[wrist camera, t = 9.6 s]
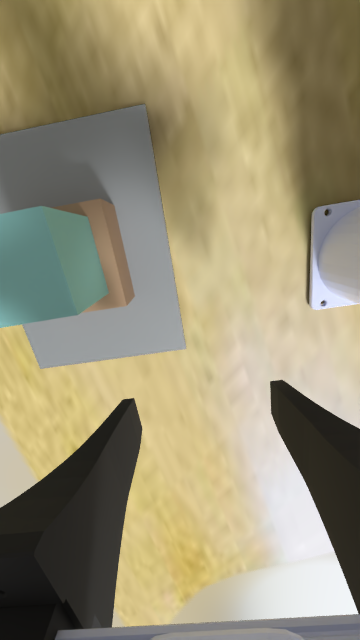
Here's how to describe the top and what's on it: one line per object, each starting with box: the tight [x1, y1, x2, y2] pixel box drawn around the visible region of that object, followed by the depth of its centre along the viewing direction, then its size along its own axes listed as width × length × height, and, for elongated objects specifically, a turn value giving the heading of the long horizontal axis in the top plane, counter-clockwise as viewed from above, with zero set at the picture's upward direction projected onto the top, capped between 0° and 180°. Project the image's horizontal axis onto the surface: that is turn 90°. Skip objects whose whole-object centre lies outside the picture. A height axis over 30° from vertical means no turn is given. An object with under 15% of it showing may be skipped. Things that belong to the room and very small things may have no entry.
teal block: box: [0, 206, 109, 328], centre depth 13 cm, size 5×5×5 cm
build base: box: [0, 104, 186, 369], centre depth 17 cm, size 14×18×4 cm
